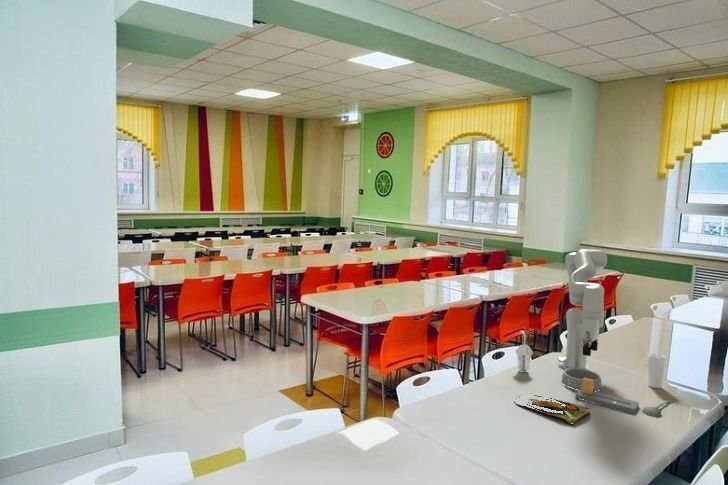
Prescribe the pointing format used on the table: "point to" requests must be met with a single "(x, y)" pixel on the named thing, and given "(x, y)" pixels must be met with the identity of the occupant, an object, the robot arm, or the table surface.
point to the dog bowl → (580, 378)
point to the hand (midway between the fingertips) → (589, 352)
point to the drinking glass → (655, 370)
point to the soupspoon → (654, 410)
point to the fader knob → (587, 385)
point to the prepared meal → (562, 409)
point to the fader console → (610, 401)
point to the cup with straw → (524, 356)
